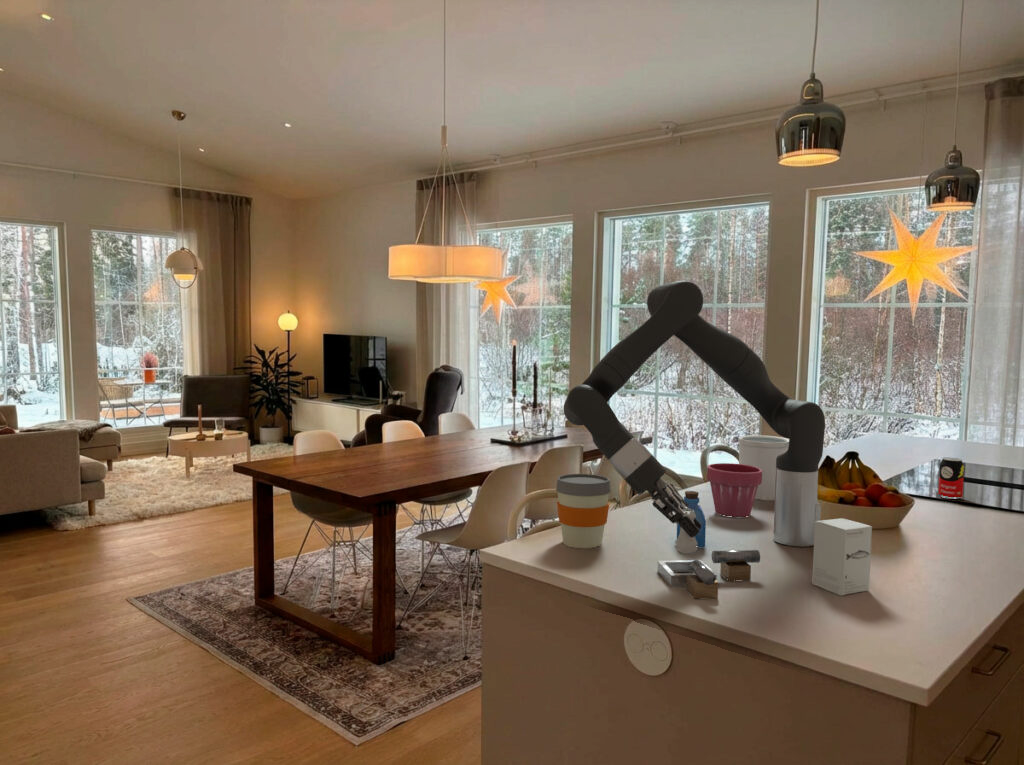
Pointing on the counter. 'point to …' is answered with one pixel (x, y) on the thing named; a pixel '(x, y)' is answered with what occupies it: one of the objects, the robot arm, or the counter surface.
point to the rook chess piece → (686, 537)
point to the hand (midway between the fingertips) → (696, 531)
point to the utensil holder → (763, 459)
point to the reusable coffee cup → (583, 508)
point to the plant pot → (734, 487)
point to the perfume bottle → (692, 502)
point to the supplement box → (842, 556)
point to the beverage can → (951, 477)
